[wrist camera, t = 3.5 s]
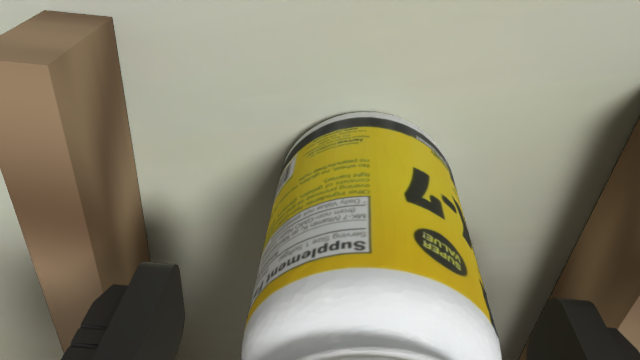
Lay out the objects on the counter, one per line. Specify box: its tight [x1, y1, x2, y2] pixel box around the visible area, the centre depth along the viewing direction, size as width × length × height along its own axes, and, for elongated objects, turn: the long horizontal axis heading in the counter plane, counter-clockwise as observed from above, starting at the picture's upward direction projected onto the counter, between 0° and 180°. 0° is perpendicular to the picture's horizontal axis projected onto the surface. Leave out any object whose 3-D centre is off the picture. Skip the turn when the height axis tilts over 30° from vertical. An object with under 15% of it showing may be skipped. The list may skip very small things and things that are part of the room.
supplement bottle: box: [242, 112, 502, 360], centre depth 11 cm, size 5×5×8 cm
